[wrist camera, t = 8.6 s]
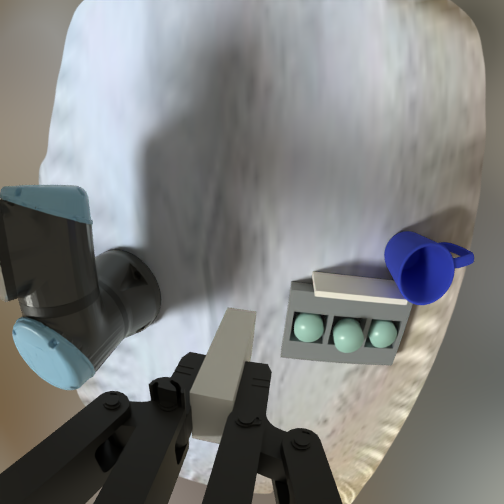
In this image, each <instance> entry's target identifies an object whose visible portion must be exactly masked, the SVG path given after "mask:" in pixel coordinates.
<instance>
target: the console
mask: <svg viewBox="0 0 504 504" xmlns="http://www.w3.org/2000/svg"><path fill="white" fill-rule="evenodd" d="M412 305H413V303H411V302H409V301H407V305H399V304H387V303H376V302H365V301H355V300H345V299H335V298H326V297H317V296H315V294H314V286H313V284H309V283H300V282H291V288H290V295H289V302H288V308H287V315H286V322H285V328H284V335H283V341H282V348H281V357H283V358H292V359H301V360H311V361H323V362H335V363H350V364H368V365H392V363H393V361H394V358H395V356H396V353H397V350H398V347H399V345H400V342H401V339H402V336H403V333H404V330H405V327H406V324H407V321H408V318H409V315H410V311H411V308H412ZM294 311H296V312H305V313H314V314H323V315H325V319H324V323H323V329H324V330H323V334H322V336H321V337H320V338H319V339H317V340H316V341H313V342H303V341H301V340H299V339H298V338H297V337H296V335H295V333H294V331H291V327H292V321H293V315H294ZM334 316H344V317H355V318H361V321H360V327H361V330H362V332H363V335H364V342H363V344H362V346H361V347H360V348H359V349H358V350H356V351H354V352H351V353H344V352H341V351H339V350H338V349H337V348H336V346H335V342H334V337H333V335H330V331H331V327H332V323H333V318H334ZM372 319H379V320H393V321H394V326H395V328H396V330H397V336H396V339H395V341H394V342H393V343H392V344H391V345H389V346H387V347H384V348H378V347H375V346H374V345H373V344H372V343H371V341H370V338H367V335H368V331H369V328H370V324H371V321H372Z"/></svg>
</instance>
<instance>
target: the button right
mask: <svg viewBox="0 0 504 504" xmlns="http://www.w3.org/2000/svg"><path fill="white" fill-rule="evenodd" d="M368 335H369V338H370V341H371V343H372V344H373V345H374V346H375V347H378V348H384V347H387V346H389V345H391V344H392V343H393V342H394V341H395V339H396V336H397V330H396V328H395V326H394V324H393V322H392V321H391V320H379V319H372V321H371V324H370V328H369V331H368Z"/></svg>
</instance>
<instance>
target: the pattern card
mask: <svg viewBox="0 0 504 504" xmlns="http://www.w3.org/2000/svg"><path fill="white" fill-rule="evenodd" d="M312 279H313V286H314V294H315V296H317V297H326V298H335V299H345V300H355V301H365V302H376V303H387V304H399V305H407V300H406V299H405V298H404V297H403V296H402V294H401V292H400V290H399V288H398V287H397V285H396V283H395V281H394V280H385V279H376V278H367V277H358V276H349V275H340V274H331V273H322V272H314V271H313V274H312Z"/></svg>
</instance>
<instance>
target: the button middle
mask: <svg viewBox="0 0 504 504" xmlns="http://www.w3.org/2000/svg"><path fill="white" fill-rule="evenodd" d="M333 337H334V342H335V346H336V348H337V349H338V350H339V351H341V352H344V353H351V352H354V351H356V350H358V349H359V348H360V347H361V346H362V344H363V342H364V335H363V332H362V330H361V327H360V324H359V322H358V321H357V320H355V319H353V318H344V319H341V320H339V321H338V322H337V323H336V324H335V325H334V327H333Z"/></svg>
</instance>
